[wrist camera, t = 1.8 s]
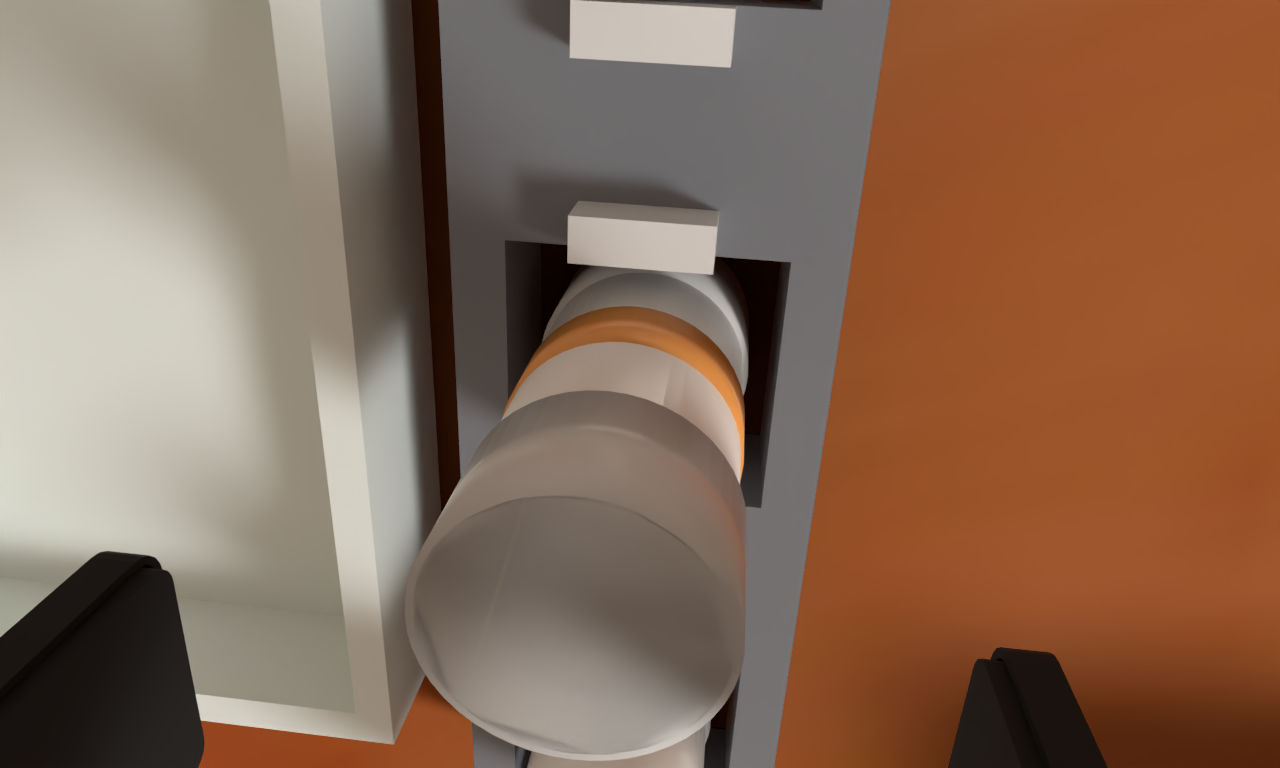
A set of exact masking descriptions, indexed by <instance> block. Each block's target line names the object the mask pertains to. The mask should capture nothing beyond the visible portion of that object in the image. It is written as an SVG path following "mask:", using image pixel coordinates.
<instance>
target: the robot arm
mask: <svg viewBox="0 0 1280 768" xmlns="http://www.w3.org/2000/svg"><path fill="white" fill-rule="evenodd" d="M203 751H204V735H203V730H202V725H201V719H200V714H199V709H198V704H197V699H196V694H195V689H194V684H193V678H192V673H191V668H190V663H189V658H188V653H187V648H186V643H185V637H184V632H183V627H182V622H181V617H180V612H179V607H178V602H177V596H176V591H175V586H174V581H173V578H172V575H171V574H170V573H169V572H168V571H166V570H163V569H162V567H161V564H160V562H159V561H158V560H157V559H156V558H155V557H152V556H149V555H140V554H131V553H122V552H112V551H104V552H99V553H98V554H96V555H95V556H93V557H92V558H90V559H89V560H88V561H87V562H86V563H85V564H84V565H82V566H81V567H80V568H79V569H78V570H77V571H76V572H74V573H73V574H72V575H71V576H70V577H69V578H68V579H66V580H65V581H64V582H63V583H62V584H61V585H59V586H58V587H57V588H56V589H55V590H54V591H53V592H51V593H50V594H49V595H48V596H47V597H46V598H45V599H43V600H42V601H41V602H40V603H39V604H38V605H37V606H35V607H34V608H33V609H32V610H31V611H30V612H28V613H27V614H26V615H25V616H24V617H23V618H22V619H20V620H19V621H18V622H17V623H16V624H15V625H14V626H12V627H11V628H10V629H9V630H8V631H7V632H6V633H4V634H3V635H2V636H1V637H0V768H198V766H199V764H200V761H201V759H202V755H203ZM948 768H1107V765H1106V763H1105V761H1104V759H1103V757H1102V755H1101V752H1100V750H1099V748H1098V746H1097V744H1096V742H1095V739H1094V737H1093V735H1092V733H1091V731H1090V729H1089V726H1088V724H1087V722H1086V720H1085V718H1084V716H1083V713H1082V711H1081V709H1080V707H1079V705H1078V703H1077V700H1076V698H1075V696H1074V694H1073V692H1072V690H1071V687H1070V685H1069V683H1068V681H1067V679H1066V677H1065V675H1064V672H1063V670H1062V668H1061V666H1060V664H1059V662H1058V660H1057V659H1056V657H1055V656H1054V655H1053V654H1051V653H1048V652H1039V651H1029V650H1020V649H1011V648H1002V647H1000V648H996V650H995V651H994V653H993V655H992V657H991V660H988V659H978V660H977V661H976V663H975V665H974V668H973V672H972V676H971V680H970V684H969V688H968V692H967V695H966V699H965V703H964V707H963V711H962V715H961V719H960V723H959V727H958V731H957V735H956V739H955V743H954V747H953V751H952V755H951V759H950V763H949V767H948Z"/></svg>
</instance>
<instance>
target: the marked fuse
mask: <svg viewBox="0 0 1280 768" xmlns="http://www.w3.org/2000/svg"><path fill="white" fill-rule="evenodd" d="M748 351H749V315H748V306H747V302H746V298H745V295H744V292H743V290H742V287H741V285H740V283H739V281H738V280H737V278H736V276H735V274H734V273H733V272H732V270H731V269H730V268H729V266H728V265H727V264H726V263H725V262H724V261H723V260H722V259H721V258H720V257H716V256H715V263H714V271H713V275H709V274H696V273H684V272H671V271H658V270H646V269H633V268H620V267H608V266H595V265H583V264H582V265H581V266H580V268H579V269H578V270H577V272H576V273H575V275H574V277H573V279H572V281H571V282H570V284H569V286H568V288H567V290H566V291H565V293H564V295H563V297H562V298H561V300H560V302H559V304H558V306H557V307H556V309H555V311H554V313H553V315H552V316H551V318H550V320H549V322H548V324H547V327H546V330H545V333H544V336H543V341H542V343H541V345H540V346H539V347H538V349H537V350H536V351H535V353H534V355H533V356H532V358H531V360H530V362H529V364H528V365H527V367H526V369H525V371H524V373H523V375H522V376H521V378H520V380H519V382H518V384H517V385H516V387H515V389H514V391H513V393H512V395H511V396H510V398H509V400H508V403H507V405H506V408H505V411H504V414H503V418H502V420H501V421H500V423H498V424H497V425H496V426H495V427H494V428H493V429H492V430H491V431H490V432H489V433H488V435H487V436H486V437H485V439H484V440H483V441H482V442H481V444H480V445H479V447H478V449H477V450H476V452H475V454H474V456H473V457H472V459H471V461H470V463H469V465H468V466H467V468H466V470H465V472H464V474H463V475H462V477H461V479H460V481H459V482H458V484H457V486H456V488H455V490H454V491H453V493H452V495H451V497H450V499H449V500H448V502H447V504H446V506H445V507H444V509H443V511H442V513H441V515H440V516H439V518H438V520H437V522H436V524H435V525H434V527H433V529H432V531H431V532H430V534H429V536H428V538H427V540H426V541H425V543H424V545H423V547H422V549H421V550H420V552H419V554H418V556H417V558H416V560H415V561H414V563H413V565H412V568H411V571H410V574H409V577H408V580H407V585H406V591H405V597H404V616H405V622H406V628H407V634H408V637H409V640H410V643H411V646H412V650H413V652H414V654H415V656H416V658H417V660H418V662H419V664H420V666H421V668H422V670H423V671H424V673H425V674H426V676H427V677H428V679H429V680H430V682H431V683H432V684H433V686H434V687H435V688H436V689H437V690H438V692H439V693H440V694H441V695H442V696H443V697H444V698H445V699H446V700H447V701H448V702H449V703H450V704H451V705H452V706H453V707H454V708H455V709H456V710H457V711H458V712H460V713H461V714H462V715H464V716H465V717H466V718H468V719H469V720H470V721H471V722H473V723H474V724H476V725H477V726H479V727H481V728H482V729H484V730H486V731H487V732H489V733H490V734H492V735H494V736H496V737H498V738H501V739H503V740H505V741H507V742H509V743H511V744H514V745H516V746H519V747H522V748H524V749H527V750H530V751H534V752H537V753H541V754H545V755H548V756H554V757H559V758H565V759H573V760H586V761H608V760H619V759H627V758H633V757H637V756H642V755H646V754H650V753H653V752H656V751H659V750H662V749H664V748H667V747H670V746H672V745H674V744H676V743H678V742H680V741H682V740H684V739H686V738H687V737H689V736H690V735H692V734H693V733H695V732H696V731H698V730H699V729H701V728H702V727H703V726H704V725H705V724H706V723H707V722H709V721H710V720H711V719H712V718H713V717H714V716H715V715H716V714H717V712H718V711H719V710H720V709H721V708H722V707H723V705H724V704H725V703H726V701H727V700H728V698H729V696H730V695H731V693H732V691H733V690H734V688H735V685H736V683H737V680H738V678H739V675H740V673H741V669H742V664H743V659H744V655H745V614H746V526H747V517H746V509H745V501H744V498H743V494H742V491H741V487H740V480H741V476H742V470H743V465H744V430H745V406H744V398H743V396H744V393H745V390H746V385H747V379H748Z"/></svg>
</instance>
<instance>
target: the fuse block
mask: <svg viewBox="0 0 1280 768" xmlns="http://www.w3.org/2000/svg"><path fill="white" fill-rule="evenodd" d="M890 3H891V0H811V1H795V0H438V5H439V26H440V47H441V69H442V90H443V111H444V133H445V154H446V175H447V196H448V218H449V239H450V260H451V282H452V303H453V324H454V346H455V367H456V388H457V410H458V431H459V452H460V473H461V477H462V475H463V474H464V472H465V470H466V468H467V466H468V465H469V463H470V461H471V459H472V457H473V456H474V454H475V452H476V450H477V449H478V447H479V445H480V444H481V442H482V441H483V440H484V439H485V437H486V436H487V435H488V433H489V432H490V431H491V430H492V429H493V428H494V427H495V426H496V425H497V424H498V423H500V421H501V420H502V418H503V414H504V411H505V408H506V405H507V403H508V400H509V398H510V396H511V395H512V393H513V391H514V389H515V387H516V385H517V384H518V382H519V380H520V378H521V376H522V375H523V373H524V371H525V369H526V367H527V365H528V364H529V362H530V360H531V358H532V356H533V355H534V353H535V351H536V350H537V349H538V347H539V346H540V345H541V243H548V244H561V245H568V250H567V263H570V264H583V265H595V266H608V267H620V268H633V269H646V270H658V271H671V272H684V273H696V274H709V275H713V271H714V263H715V256H716V257H728V258H741V259H754V260H767V261H780V268H779V277H778V285H777V294H776V302H775V311H774V319H773V328H772V337H771V345H770V354H769V362H768V371H767V379H766V388H765V396H764V405H763V413H762V422H761V431H760V435H754V434H744V465H743V470H742V476H741V480H740V487H741V491H742V494H743V498H744V501H745V509H746V517H747V526H746V614H745V655H744V659H743V664H742V669H741V673H740V675H739V678H738V680H737V683H736V685H735V688H734V690H733V691H732V693H731V695H730V696H729V704H728V712H727V721H726V730H725V729H716V728H710V732H709V736H708V738H707V741H706V743H705V754H704V768H774V765H775V758H776V751H777V745H778V738H779V732H780V725H781V719H782V712H783V706H784V699H785V692H786V686H787V679H788V673H789V666H790V660H791V653H792V646H793V640H794V633H795V627H796V620H797V614H798V607H799V600H800V594H801V587H802V581H803V574H804V568H805V561H806V554H807V548H808V541H809V535H810V528H811V522H812V515H813V509H814V502H815V495H816V489H817V482H818V476H819V469H820V463H821V456H822V449H823V443H824V436H825V430H826V423H827V417H828V410H829V403H830V397H831V390H832V384H833V377H834V371H835V364H836V357H837V351H838V344H839V338H840V331H841V325H842V318H843V312H844V305H845V298H846V292H847V285H848V279H849V272H850V266H851V259H852V252H853V246H854V239H855V233H856V226H857V220H858V213H859V206H860V200H861V193H862V187H863V180H864V174H865V167H866V160H867V154H868V147H869V141H870V134H871V128H872V121H873V115H874V108H875V101H876V95H877V88H878V82H879V75H880V69H881V62H882V55H883V49H884V42H885V36H886V29H887V23H888V16H889V9H890ZM472 729H473V750H474V768H527V766H528V762H529V759H530V755H531V752H532V751H530V750H527V749H524V748H522V747H519V746H516V745H514V744H511V743H509V742H507V741H505V740H503V739H501V738H498V737H496V736H494V735H492V734H490V733H489V732H487V731H486V730H484V729H482V728H481V727H479V726H477V725H476V724H474V723H473V722H472Z"/></svg>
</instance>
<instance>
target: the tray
mask: <svg viewBox="0 0 1280 768" xmlns="http://www.w3.org/2000/svg"><path fill="white" fill-rule="evenodd" d="M440 515H441V498H440V481H439V464H438V447H437V430H436V413H435V396H434V379H433V362H432V345H431V328H430V311H429V294H428V277H427V260H426V243H425V226H424V209H423V192H422V175H421V158H420V141H419V124H418V107H417V90H416V73H415V56H414V39H413V22H412V5H411V0H0V637H1V636H2V635H3V634H4V633H6V632H7V631H8V630H9V629H10V628H11V627H12V626H14V625H15V624H16V623H17V622H18V621H19V620H20V619H22V618H23V617H24V616H25V615H26V614H27V613H28V612H30V611H31V610H32V609H33V608H34V607H35V606H37V605H38V604H39V603H40V602H41V601H42V600H43V599H45V598H46V597H47V596H48V595H49V594H50V593H51V592H53V591H54V590H55V589H56V588H57V587H58V586H59V585H61V584H62V583H63V582H64V581H65V580H66V579H68V578H69V577H70V576H71V575H72V574H73V573H74V572H76V571H77V570H78V569H79V568H80V567H81V566H82V565H84V564H85V563H86V562H87V561H88V560H89V559H90V558H92V557H93V556H95V555H96V554H98V553H99V552H104V551H112V552H122V553H131V554H140V555H149V556H152V557H155V558H156V559H157V560H158V561H159V562H160V564H161V567H162V569H163V570H166V571H168V572H169V573H170V574H171V575H172V578H173V581H174V586H175V591H176V596H177V602H178V607H179V612H180V617H181V622H182V627H183V632H184V637H185V643H186V648H187V653H188V658H189V663H190V668H191V673H192V678H193V684H194V689H195V694H196V699H197V704H198V709H199V714H200V719H201V720H203V721H211V722H219V723H227V724H235V725H243V726H251V727H259V728H266V729H274V730H282V731H290V732H298V733H306V734H314V735H322V736H330V737H338V738H346V739H354V740H362V741H370V742H378V743H386V744H394V743H395V741H396V738H397V736H398V734H399V732H400V730H401V727H402V725H403V723H404V721H405V719H406V716H407V714H408V712H409V710H410V708H411V705H412V703H413V701H414V699H415V697H416V694H417V692H418V690H419V688H420V686H421V683H422V681H423V679H424V677H425V675H426V674H425V673H424V671H423V670H422V668H421V666H420V664H419V662H418V660H417V658H416V656H415V654H414V652H413V650H412V646H411V643H410V640H409V637H408V634H407V628H406V622H405V616H404V597H405V591H406V585H407V580H408V577H409V574H410V571H411V568H412V565H413V563H414V561H415V560H416V558H417V556H418V554H419V552H420V550H421V549H422V547H423V545H424V543H425V541H426V540H427V538H428V536H429V534H430V532H431V531H432V529H433V527H434V525H435V524H436V522H437V520H438V518H439V516H440Z"/></svg>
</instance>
